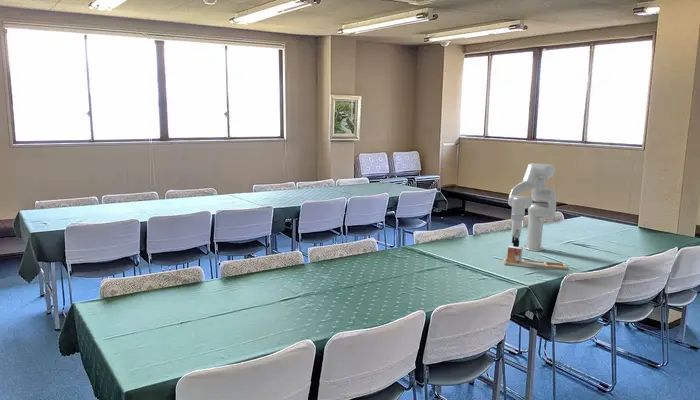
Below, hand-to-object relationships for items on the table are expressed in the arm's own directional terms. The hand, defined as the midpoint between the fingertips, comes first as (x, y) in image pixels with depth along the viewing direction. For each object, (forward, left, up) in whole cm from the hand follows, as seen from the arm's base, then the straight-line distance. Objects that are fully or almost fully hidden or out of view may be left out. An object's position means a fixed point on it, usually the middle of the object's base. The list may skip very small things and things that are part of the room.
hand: (515, 244), depth 322 cm
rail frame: (-1, +12, -12) cm, 17 cm away
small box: (-1, 0, -12) cm, 12 cm away
